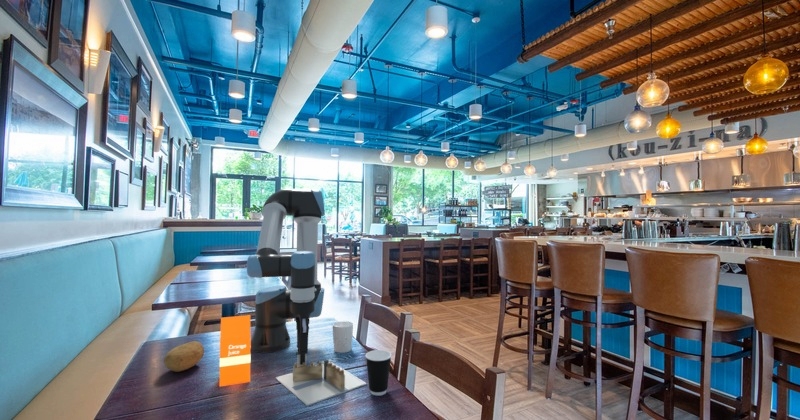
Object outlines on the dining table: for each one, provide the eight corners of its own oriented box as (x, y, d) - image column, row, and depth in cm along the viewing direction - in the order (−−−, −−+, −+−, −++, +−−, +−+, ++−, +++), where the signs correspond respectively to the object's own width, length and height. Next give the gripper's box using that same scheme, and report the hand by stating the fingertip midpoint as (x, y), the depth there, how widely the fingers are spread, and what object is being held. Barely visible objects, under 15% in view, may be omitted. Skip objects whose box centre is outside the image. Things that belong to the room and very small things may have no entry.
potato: (153, 376, 119) (154, 351, 119) (187, 359, 132) (187, 337, 132) (179, 379, 116) (179, 354, 117) (211, 362, 130) (211, 339, 130)
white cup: (348, 354, 139) (349, 327, 139) (329, 352, 140) (329, 326, 140) (355, 347, 146) (355, 321, 146) (336, 345, 148) (337, 320, 148)
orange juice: (220, 376, 119) (221, 314, 119) (249, 372, 122) (250, 312, 123) (219, 386, 112) (220, 321, 112) (250, 381, 115) (251, 318, 116)
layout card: (275, 378, 118) (275, 377, 118) (330, 362, 131) (330, 361, 131) (307, 406, 101) (307, 404, 101) (366, 384, 114) (366, 383, 114)
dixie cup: (359, 391, 110) (359, 354, 110) (379, 383, 115) (380, 347, 115) (376, 401, 104) (376, 362, 104) (397, 392, 109) (397, 354, 109)
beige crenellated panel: (322, 376, 117) (322, 360, 118) (322, 378, 116) (322, 362, 116) (293, 379, 115) (293, 362, 115) (292, 381, 114) (293, 364, 114)
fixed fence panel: (323, 379, 117) (323, 360, 117) (326, 378, 118) (327, 359, 118) (340, 391, 109) (341, 371, 109) (344, 390, 110) (345, 370, 110)
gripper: (317, 303, 113) (316, 379, 113) (311, 294, 125) (311, 363, 125) (292, 305, 111) (291, 383, 111) (289, 296, 123) (288, 366, 122)
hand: (301, 373), depth 118 cm, fingers closed
